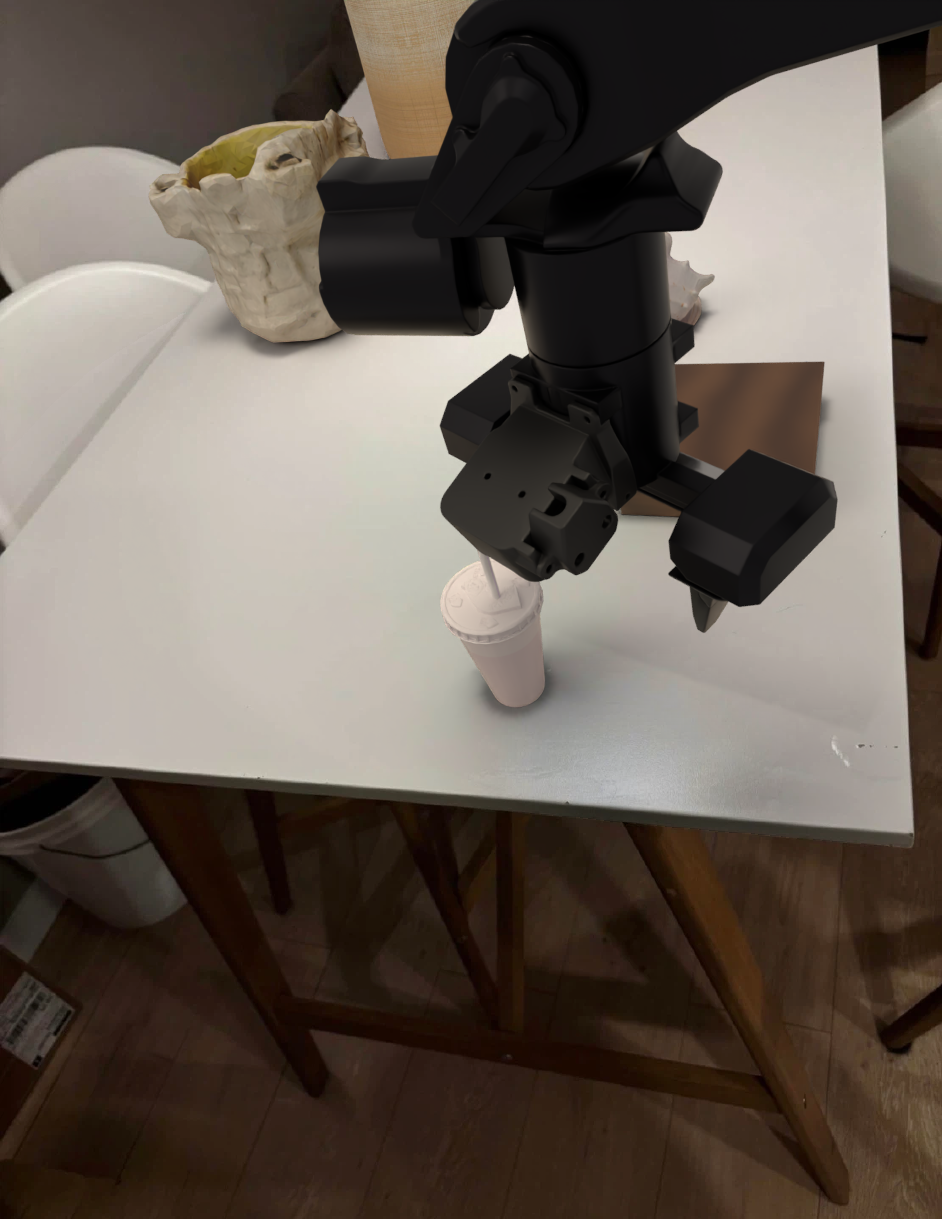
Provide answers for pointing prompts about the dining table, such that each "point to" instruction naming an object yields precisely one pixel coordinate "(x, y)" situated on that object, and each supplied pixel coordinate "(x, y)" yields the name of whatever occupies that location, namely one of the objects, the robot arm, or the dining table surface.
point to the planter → (407, 68)
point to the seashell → (684, 287)
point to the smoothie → (498, 628)
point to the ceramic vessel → (262, 218)
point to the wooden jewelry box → (747, 416)
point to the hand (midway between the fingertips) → (634, 585)
